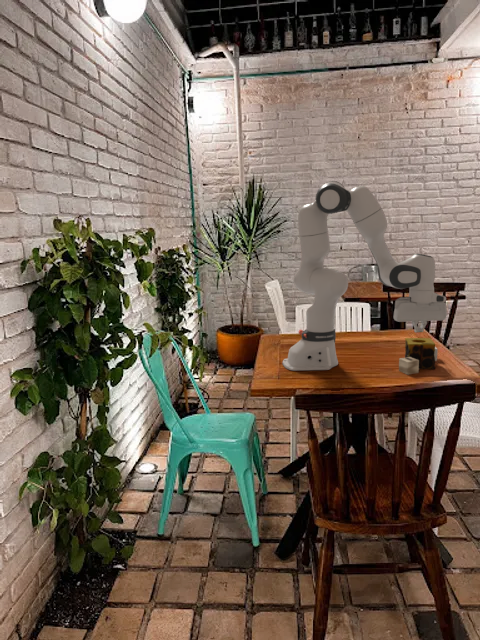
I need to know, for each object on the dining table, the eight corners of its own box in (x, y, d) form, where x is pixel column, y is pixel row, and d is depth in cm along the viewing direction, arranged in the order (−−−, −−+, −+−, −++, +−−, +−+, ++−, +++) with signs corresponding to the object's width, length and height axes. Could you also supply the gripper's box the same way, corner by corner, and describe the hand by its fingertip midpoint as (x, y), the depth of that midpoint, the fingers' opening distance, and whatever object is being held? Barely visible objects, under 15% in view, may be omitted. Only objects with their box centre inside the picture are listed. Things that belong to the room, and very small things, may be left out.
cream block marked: (424, 360, 192) (424, 348, 191) (421, 357, 197) (421, 345, 196) (437, 360, 192) (437, 348, 191) (433, 357, 197) (434, 345, 196)
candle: (435, 369, 181) (436, 344, 179) (407, 369, 183) (408, 344, 181) (430, 362, 191) (431, 337, 189) (404, 361, 193) (405, 337, 191)
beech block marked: (407, 374, 177) (407, 361, 176) (398, 371, 181) (399, 357, 180) (418, 373, 178) (418, 359, 177) (409, 369, 183) (410, 356, 182)
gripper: (399, 298, 177) (397, 334, 180) (450, 297, 180) (447, 332, 183) (391, 296, 183) (389, 331, 186) (441, 295, 186) (438, 329, 189)
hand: (418, 332), depth 184 cm, fingers closed
